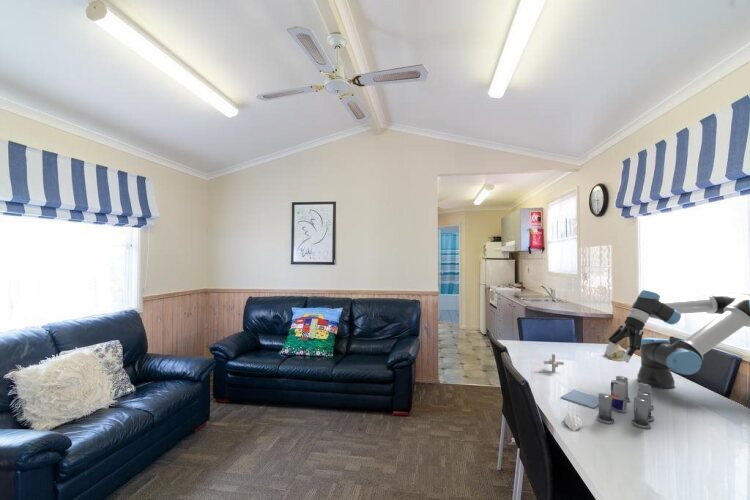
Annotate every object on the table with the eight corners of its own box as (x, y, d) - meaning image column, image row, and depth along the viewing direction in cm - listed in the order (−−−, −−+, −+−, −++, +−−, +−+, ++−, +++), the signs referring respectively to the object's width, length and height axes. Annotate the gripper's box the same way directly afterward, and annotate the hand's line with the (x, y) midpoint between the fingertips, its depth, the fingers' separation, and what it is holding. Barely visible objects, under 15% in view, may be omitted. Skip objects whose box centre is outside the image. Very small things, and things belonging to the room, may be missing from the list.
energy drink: (608, 407, 149) (607, 380, 149) (619, 407, 149) (619, 379, 149) (617, 413, 144) (617, 384, 144) (629, 412, 144) (629, 384, 144)
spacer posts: (585, 417, 140) (585, 392, 140) (616, 395, 161) (616, 374, 162) (642, 436, 125) (642, 409, 125) (668, 410, 146) (668, 386, 146)
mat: (560, 398, 159) (560, 396, 159) (573, 390, 167) (573, 389, 167) (594, 408, 148) (594, 407, 148) (606, 400, 156) (606, 399, 156)
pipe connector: (566, 375, 189) (566, 357, 189) (546, 374, 191) (546, 356, 191) (560, 369, 198) (560, 352, 199) (541, 368, 200) (541, 351, 201)
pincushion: (563, 416, 142) (563, 402, 142) (580, 419, 139) (580, 405, 139) (564, 429, 131) (564, 415, 131) (583, 433, 128) (583, 418, 128)
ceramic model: (631, 361, 213) (631, 345, 213) (613, 361, 213) (613, 345, 213) (616, 354, 227) (615, 339, 227) (599, 354, 227) (599, 339, 227)
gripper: (613, 313, 178) (594, 348, 177) (647, 318, 153) (625, 359, 153) (627, 320, 177) (607, 356, 177) (663, 327, 152) (640, 368, 152)
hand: (615, 357), depth 165 cm, fingers open, 13 cm apart
